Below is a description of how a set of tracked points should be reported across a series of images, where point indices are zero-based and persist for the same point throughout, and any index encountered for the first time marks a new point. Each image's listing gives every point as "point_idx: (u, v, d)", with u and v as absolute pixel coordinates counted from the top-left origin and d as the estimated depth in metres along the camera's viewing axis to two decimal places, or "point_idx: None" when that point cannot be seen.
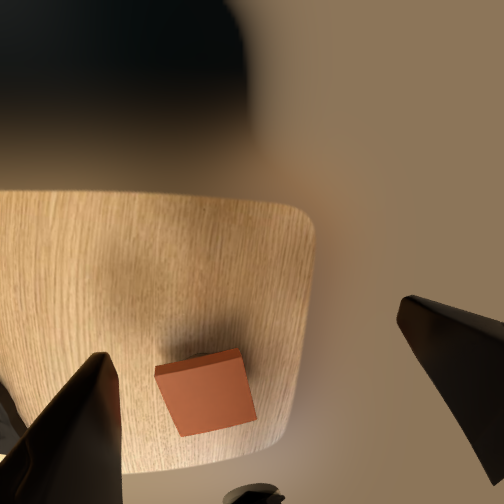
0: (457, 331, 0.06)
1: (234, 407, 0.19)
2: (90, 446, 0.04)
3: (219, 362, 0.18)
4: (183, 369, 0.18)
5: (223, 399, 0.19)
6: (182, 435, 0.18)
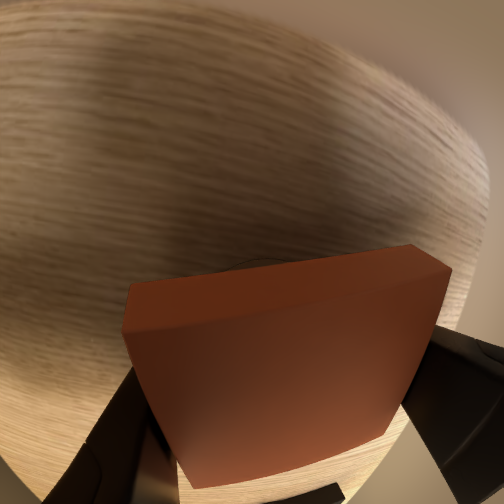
0: None
1: (371, 349, 0.05)
2: (157, 445, 0.04)
3: (149, 400, 0.04)
4: (176, 459, 0.05)
5: (322, 384, 0.05)
6: (381, 434, 0.07)
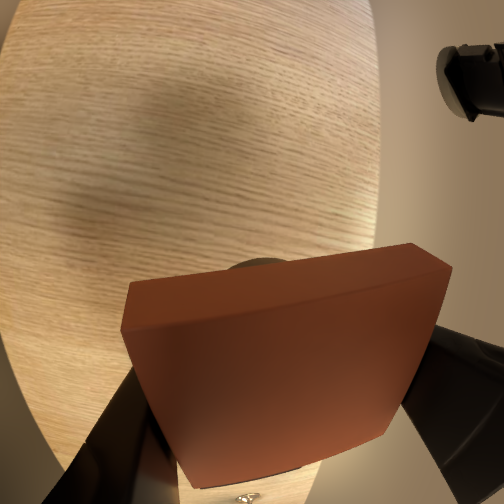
0: None
1: (372, 348, 0.05)
2: (158, 445, 0.04)
3: (148, 399, 0.04)
4: (176, 458, 0.05)
5: (322, 383, 0.05)
6: (381, 433, 0.07)
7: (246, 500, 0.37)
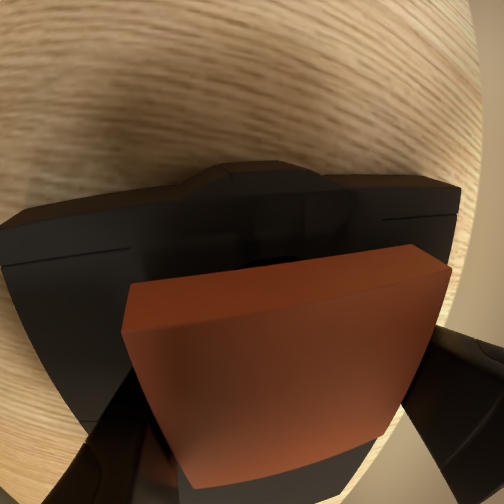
0: None
1: (372, 348, 0.05)
2: (158, 445, 0.04)
3: (149, 400, 0.04)
4: (177, 459, 0.05)
5: (322, 384, 0.05)
6: (381, 434, 0.07)
7: None
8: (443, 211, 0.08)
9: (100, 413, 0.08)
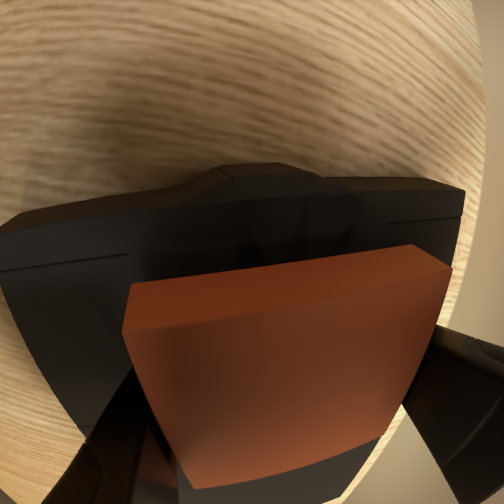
0: None
1: (372, 349, 0.05)
2: (157, 445, 0.04)
3: (149, 400, 0.04)
4: (177, 459, 0.05)
5: (322, 384, 0.05)
6: (381, 434, 0.07)
7: None
8: (447, 214, 0.08)
9: None
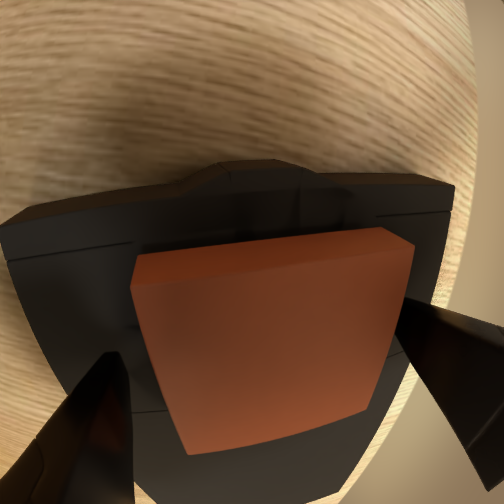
0: (450, 334, 0.06)
1: (341, 314, 0.06)
2: (104, 446, 0.04)
3: (149, 352, 0.05)
4: (172, 418, 0.06)
5: (298, 344, 0.06)
6: (363, 408, 0.08)
7: None
8: (437, 208, 0.08)
9: None
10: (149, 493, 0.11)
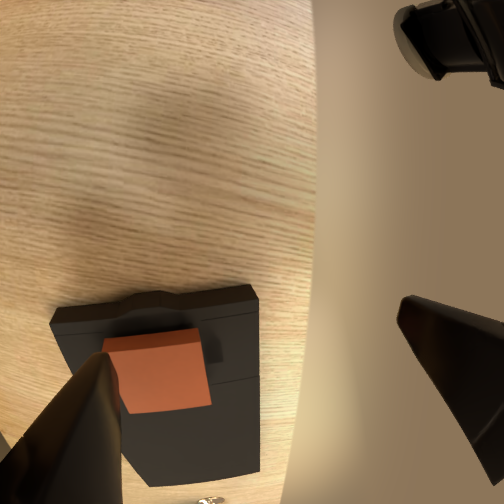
0: (457, 331, 0.06)
1: (172, 363, 0.16)
2: (90, 446, 0.04)
3: None
4: (120, 395, 0.16)
5: (158, 371, 0.16)
6: (209, 403, 0.18)
7: None
8: (244, 312, 0.18)
9: None
10: (121, 450, 0.21)
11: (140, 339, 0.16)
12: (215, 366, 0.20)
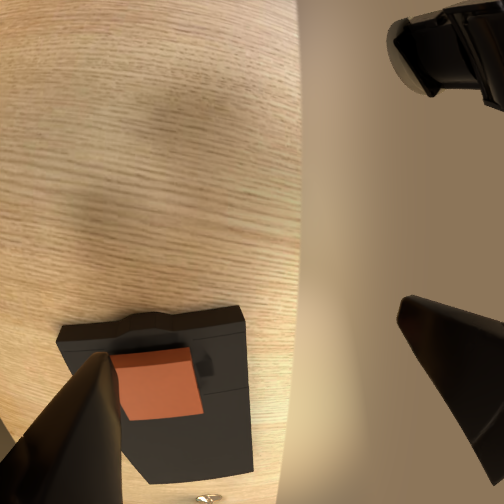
0: (457, 331, 0.06)
1: (166, 378, 0.18)
2: (90, 446, 0.04)
3: None
4: (121, 404, 0.18)
5: (154, 385, 0.18)
6: (201, 412, 0.20)
7: (206, 501, 0.35)
8: (232, 332, 0.20)
9: None
10: (123, 451, 0.23)
11: (137, 357, 0.17)
12: (207, 379, 0.21)
